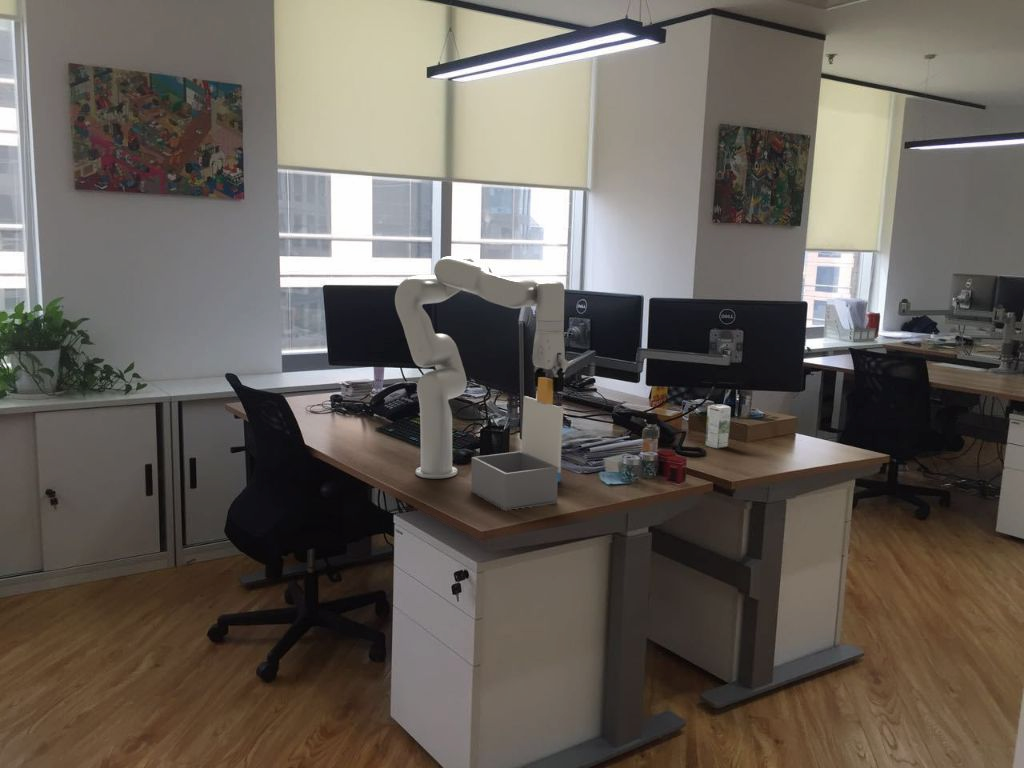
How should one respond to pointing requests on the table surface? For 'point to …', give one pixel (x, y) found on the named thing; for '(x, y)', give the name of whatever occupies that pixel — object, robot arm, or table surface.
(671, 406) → the table surface
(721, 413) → the syrup box
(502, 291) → the robot arm
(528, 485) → the carton
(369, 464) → the table surface
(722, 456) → the table surface
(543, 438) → the lid flap
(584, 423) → the table surface
